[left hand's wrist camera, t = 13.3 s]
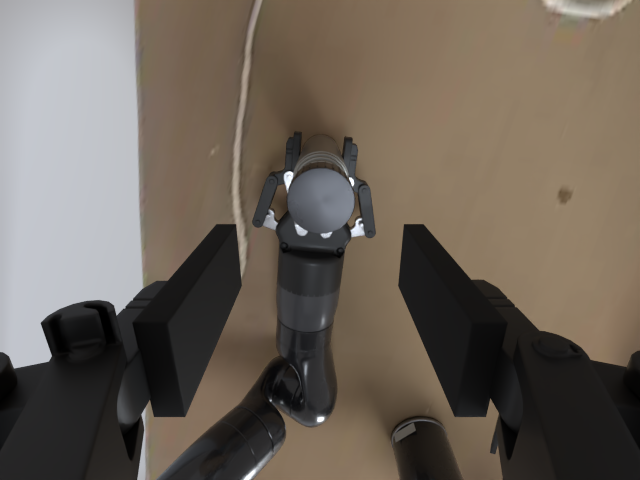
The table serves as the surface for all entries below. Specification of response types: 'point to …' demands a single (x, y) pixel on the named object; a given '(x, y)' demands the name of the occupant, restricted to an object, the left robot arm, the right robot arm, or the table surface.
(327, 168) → the cap
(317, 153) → the bottle
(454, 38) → the table surface
